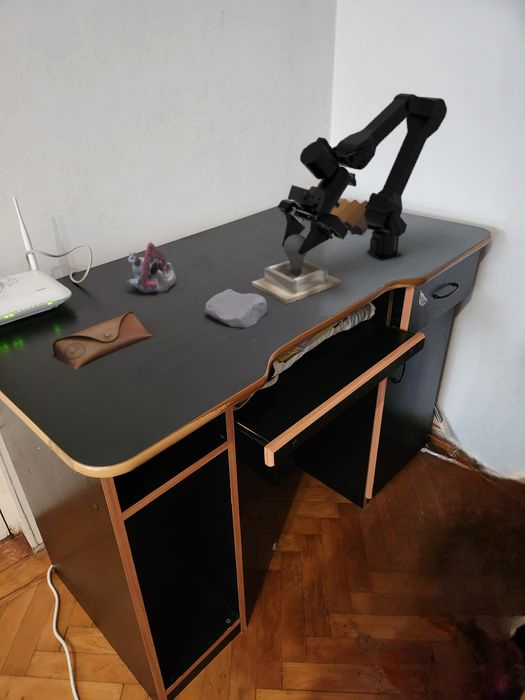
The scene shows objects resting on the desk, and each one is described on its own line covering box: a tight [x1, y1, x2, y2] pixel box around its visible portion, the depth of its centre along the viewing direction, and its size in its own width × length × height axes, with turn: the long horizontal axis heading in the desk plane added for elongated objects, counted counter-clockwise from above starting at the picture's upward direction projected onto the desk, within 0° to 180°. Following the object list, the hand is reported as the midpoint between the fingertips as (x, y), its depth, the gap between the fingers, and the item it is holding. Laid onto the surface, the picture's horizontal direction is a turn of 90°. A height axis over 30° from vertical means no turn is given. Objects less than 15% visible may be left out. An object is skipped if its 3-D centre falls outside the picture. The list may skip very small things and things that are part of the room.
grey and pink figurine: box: [126, 241, 177, 294], centre depth 125 cm, size 11×11×12 cm
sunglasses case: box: [52, 310, 155, 370], centre depth 104 cm, size 18×7×7 cm
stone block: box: [204, 288, 268, 329], centre depth 113 cm, size 12×5×10 cm
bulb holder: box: [251, 258, 341, 305], centre depth 124 cm, size 16×13×4 cm
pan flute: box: [299, 198, 368, 236], centre depth 166 cm, size 25×3×25 cm
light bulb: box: [283, 234, 308, 277], centre depth 121 cm, size 6×6×10 cm
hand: (291, 250), depth 120 cm, fingers closed on light bulb, 5 cm apart
